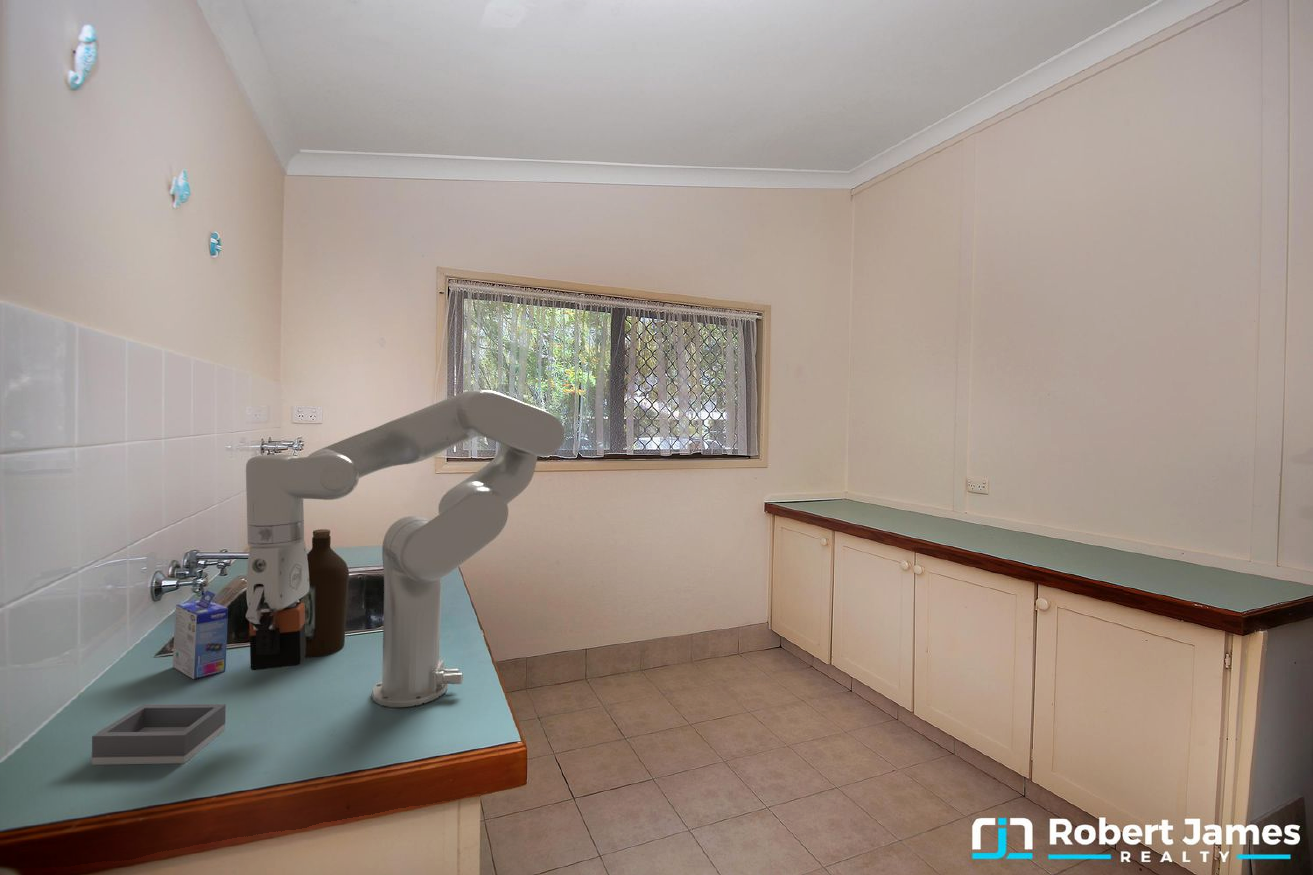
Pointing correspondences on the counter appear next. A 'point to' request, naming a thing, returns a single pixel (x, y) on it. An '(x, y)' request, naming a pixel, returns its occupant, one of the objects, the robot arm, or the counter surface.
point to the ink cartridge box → (200, 637)
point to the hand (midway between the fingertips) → (278, 644)
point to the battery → (283, 639)
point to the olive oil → (325, 598)
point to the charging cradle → (159, 734)
